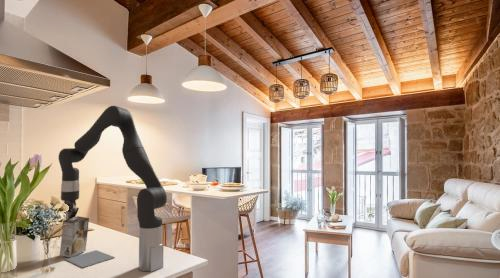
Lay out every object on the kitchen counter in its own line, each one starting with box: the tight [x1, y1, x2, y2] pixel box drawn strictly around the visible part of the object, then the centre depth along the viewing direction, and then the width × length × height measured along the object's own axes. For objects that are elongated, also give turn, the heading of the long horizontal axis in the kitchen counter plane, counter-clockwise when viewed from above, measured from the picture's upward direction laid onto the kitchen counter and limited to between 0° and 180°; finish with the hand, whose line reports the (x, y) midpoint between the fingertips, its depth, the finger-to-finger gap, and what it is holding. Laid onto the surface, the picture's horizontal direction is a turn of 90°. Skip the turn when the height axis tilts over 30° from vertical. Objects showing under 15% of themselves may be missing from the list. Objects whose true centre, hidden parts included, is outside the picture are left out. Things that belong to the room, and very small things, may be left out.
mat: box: [64, 249, 115, 269], centre depth 133 cm, size 16×14×1 cm
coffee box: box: [59, 215, 90, 258], centre depth 138 cm, size 9×6×16 cm
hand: (69, 225), depth 142 cm, fingers closed
